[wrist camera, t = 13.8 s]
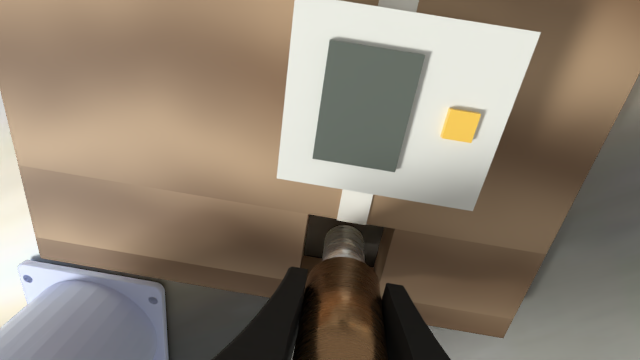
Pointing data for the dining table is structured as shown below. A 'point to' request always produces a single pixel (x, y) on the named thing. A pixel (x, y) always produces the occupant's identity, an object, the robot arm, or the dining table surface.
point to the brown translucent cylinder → (341, 304)
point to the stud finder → (397, 100)
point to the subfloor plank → (264, 143)
